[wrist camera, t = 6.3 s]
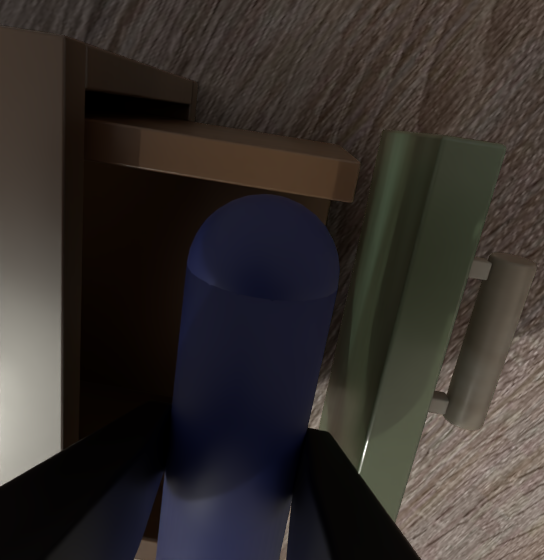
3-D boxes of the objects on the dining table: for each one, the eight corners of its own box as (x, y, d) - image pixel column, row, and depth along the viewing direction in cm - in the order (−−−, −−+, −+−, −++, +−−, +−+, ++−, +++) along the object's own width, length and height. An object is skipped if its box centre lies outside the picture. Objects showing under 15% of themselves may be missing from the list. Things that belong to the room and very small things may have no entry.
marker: (270, 568, 10) (259, 683, 8) (168, 549, 10) (133, 659, 8) (348, 197, 8) (363, 226, 5) (212, 173, 8) (175, 193, 6)
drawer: (540, 153, 16) (742, 181, 8) (443, 458, 20) (521, 659, 12) (24, 73, 16) (-215, 32, 9) (31, 386, 20) (-131, 538, 13)
